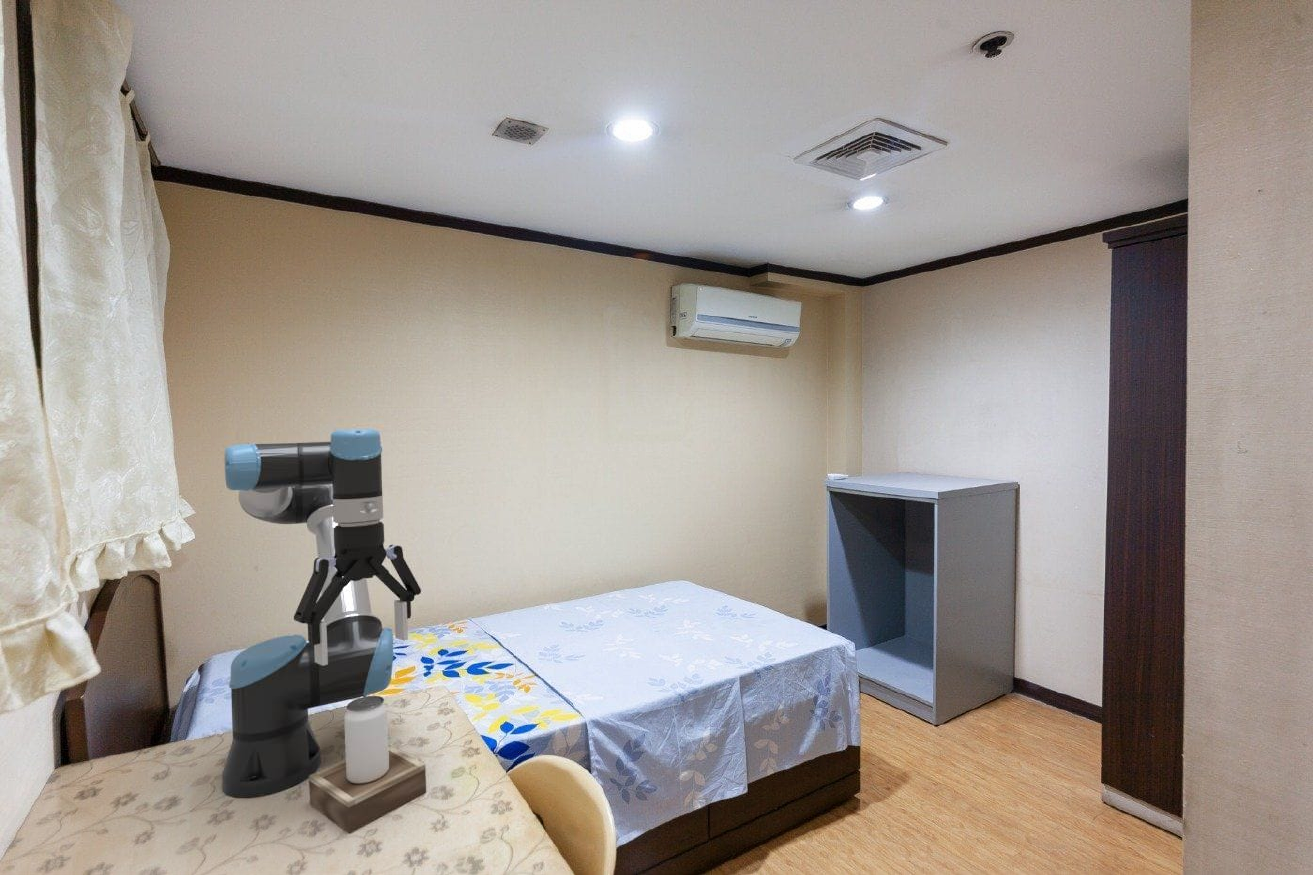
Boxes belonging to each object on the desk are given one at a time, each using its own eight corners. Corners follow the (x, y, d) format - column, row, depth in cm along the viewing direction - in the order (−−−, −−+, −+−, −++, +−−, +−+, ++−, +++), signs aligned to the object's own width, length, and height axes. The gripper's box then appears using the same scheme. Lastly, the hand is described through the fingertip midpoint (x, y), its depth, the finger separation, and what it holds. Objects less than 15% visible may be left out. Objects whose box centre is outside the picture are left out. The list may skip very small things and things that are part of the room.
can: (372, 787, 101) (369, 713, 101) (337, 783, 102) (334, 710, 102) (397, 765, 107) (394, 695, 107) (363, 762, 109) (361, 693, 109)
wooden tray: (310, 804, 104) (308, 775, 104) (385, 768, 114) (384, 742, 114) (349, 833, 96) (348, 802, 96) (426, 792, 106) (425, 764, 106)
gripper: (287, 536, 92) (293, 680, 92) (438, 514, 112) (442, 633, 112) (266, 532, 97) (271, 669, 97) (415, 511, 116) (419, 626, 117)
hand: (363, 650), depth 105 cm, fingers open, 13 cm apart
